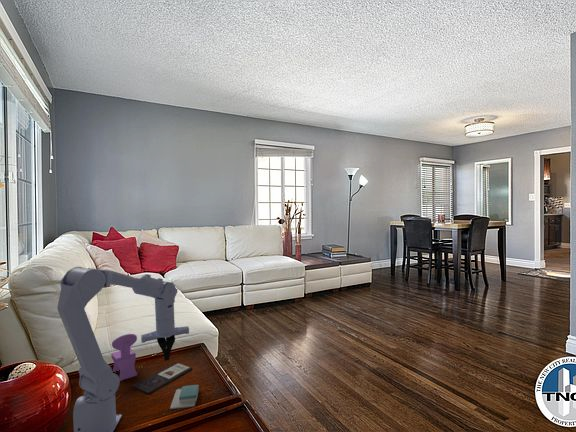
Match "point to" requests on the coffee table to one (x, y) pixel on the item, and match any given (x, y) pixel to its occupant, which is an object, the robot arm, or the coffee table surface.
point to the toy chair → (124, 356)
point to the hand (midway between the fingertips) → (166, 359)
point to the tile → (189, 393)
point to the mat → (177, 405)
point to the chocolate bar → (161, 378)
